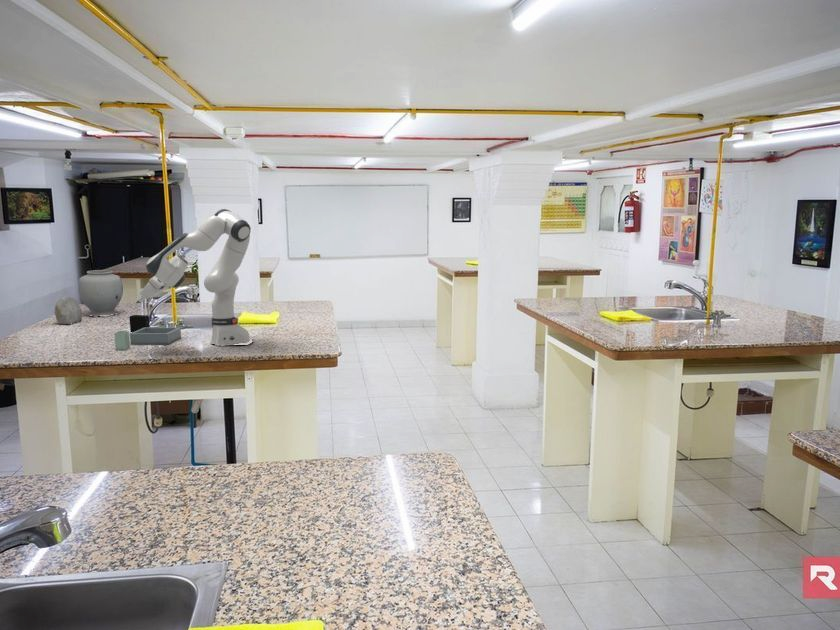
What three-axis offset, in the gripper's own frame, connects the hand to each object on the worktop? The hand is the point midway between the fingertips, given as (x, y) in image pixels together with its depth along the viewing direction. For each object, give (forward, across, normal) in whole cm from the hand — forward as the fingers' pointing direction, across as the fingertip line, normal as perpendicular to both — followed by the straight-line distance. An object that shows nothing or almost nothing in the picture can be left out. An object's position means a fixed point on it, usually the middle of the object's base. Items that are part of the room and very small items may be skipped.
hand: (144, 300), depth 324 cm
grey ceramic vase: (+69, -108, -35) cm, 133 cm away
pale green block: (+27, -1, +9) cm, 28 cm away
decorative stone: (+74, -78, -39) cm, 114 cm away
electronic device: (+34, -47, +1) cm, 58 cm away
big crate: (+20, -21, +15) cm, 33 cm away
